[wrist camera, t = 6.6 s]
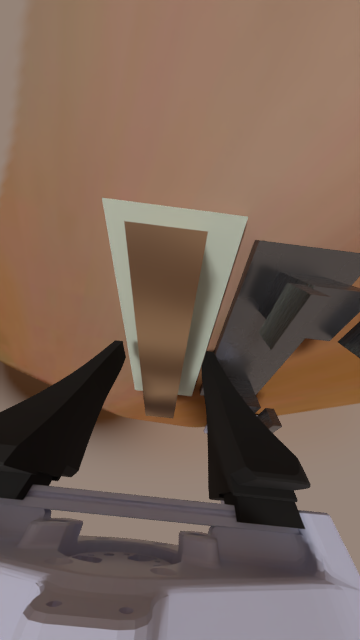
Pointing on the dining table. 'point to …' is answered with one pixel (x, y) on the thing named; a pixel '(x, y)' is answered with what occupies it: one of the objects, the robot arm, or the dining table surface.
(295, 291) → the rack
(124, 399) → the dining table surface
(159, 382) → the rail
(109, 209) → the mat
